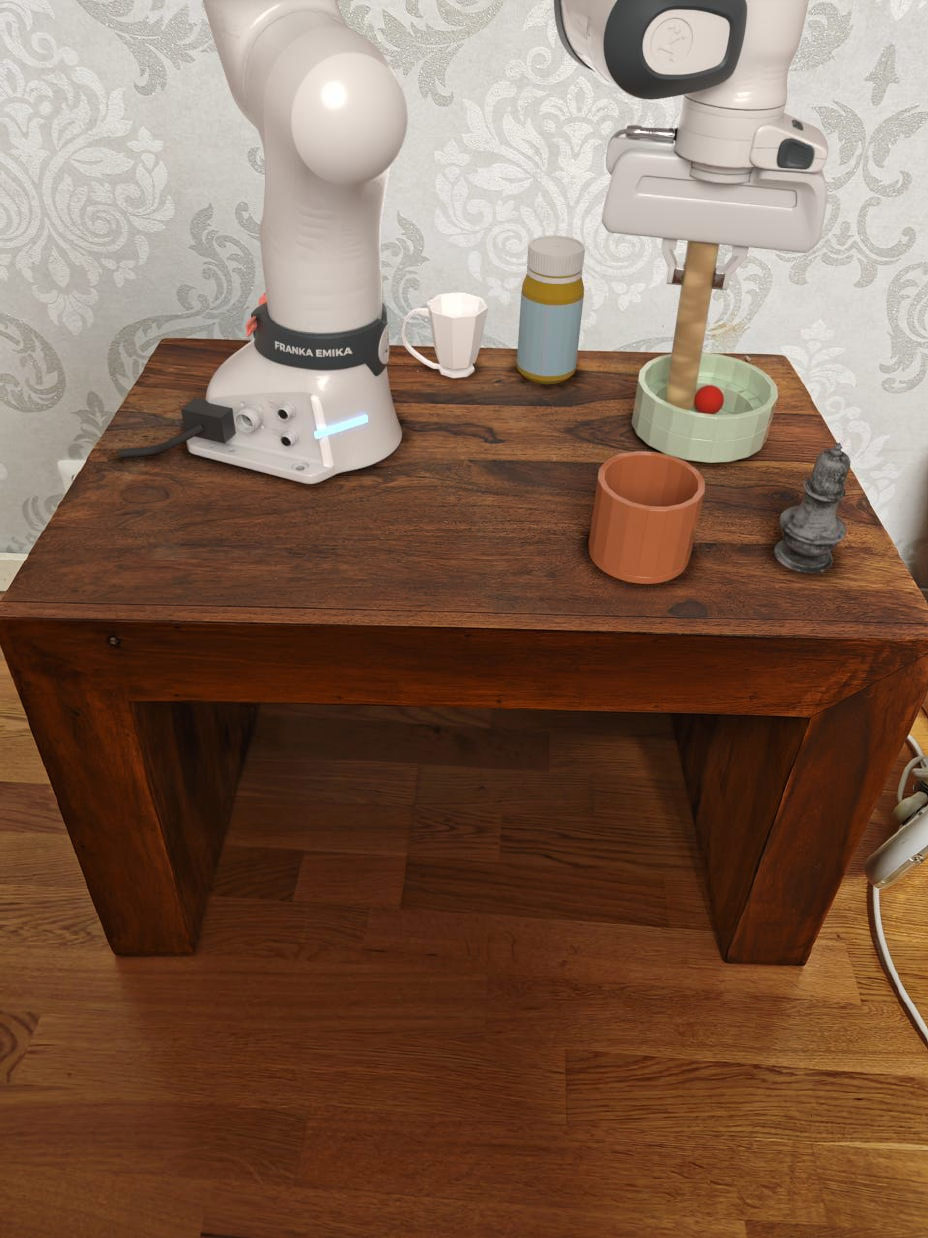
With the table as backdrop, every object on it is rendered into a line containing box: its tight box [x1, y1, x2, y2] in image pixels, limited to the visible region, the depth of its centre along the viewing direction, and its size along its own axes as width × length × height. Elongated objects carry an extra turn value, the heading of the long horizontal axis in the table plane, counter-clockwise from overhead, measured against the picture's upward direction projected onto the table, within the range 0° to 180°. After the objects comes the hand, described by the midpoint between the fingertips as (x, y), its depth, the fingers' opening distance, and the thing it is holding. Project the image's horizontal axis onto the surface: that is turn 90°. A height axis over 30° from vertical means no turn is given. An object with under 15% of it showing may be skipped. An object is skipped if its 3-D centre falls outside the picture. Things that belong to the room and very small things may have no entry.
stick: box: [665, 241, 720, 410], centre depth 97 cm, size 3×3×18 cm
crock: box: [587, 450, 706, 585], centre depth 87 cm, size 9×9×8 cm
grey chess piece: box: [773, 442, 852, 574], centre depth 86 cm, size 6×6×12 cm
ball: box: [694, 385, 724, 414], centre depth 106 cm, size 3×3×3 cm
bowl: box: [631, 351, 779, 464], centre depth 104 cm, size 14×14×6 cm
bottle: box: [516, 235, 586, 385], centre depth 110 cm, size 7×7×15 cm
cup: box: [400, 291, 489, 379], centre depth 113 cm, size 7×10×8 cm
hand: (696, 285), depth 95 cm, fingers closed on stick, 3 cm apart
